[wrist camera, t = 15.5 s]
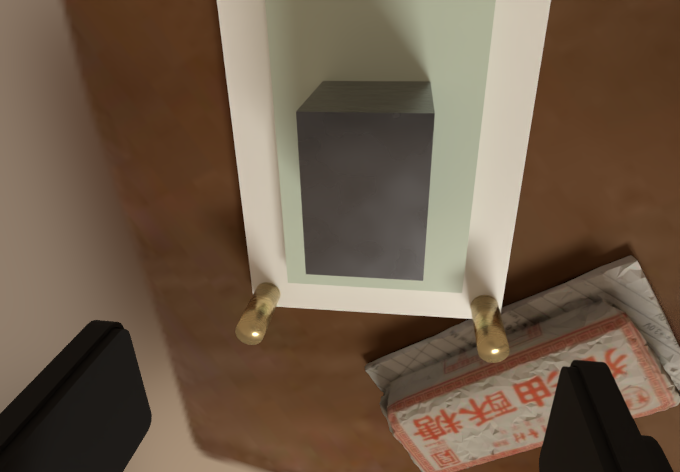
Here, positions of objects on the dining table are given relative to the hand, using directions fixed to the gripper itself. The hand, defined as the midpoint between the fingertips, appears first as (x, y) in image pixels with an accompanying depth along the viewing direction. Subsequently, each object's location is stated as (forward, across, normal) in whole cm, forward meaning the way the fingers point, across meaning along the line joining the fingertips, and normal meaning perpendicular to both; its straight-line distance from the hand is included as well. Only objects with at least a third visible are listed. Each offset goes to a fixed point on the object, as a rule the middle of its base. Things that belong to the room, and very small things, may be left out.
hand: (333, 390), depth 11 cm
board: (+17, 0, 0) cm, 17 cm away
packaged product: (+19, -9, +15) cm, 26 cm away
